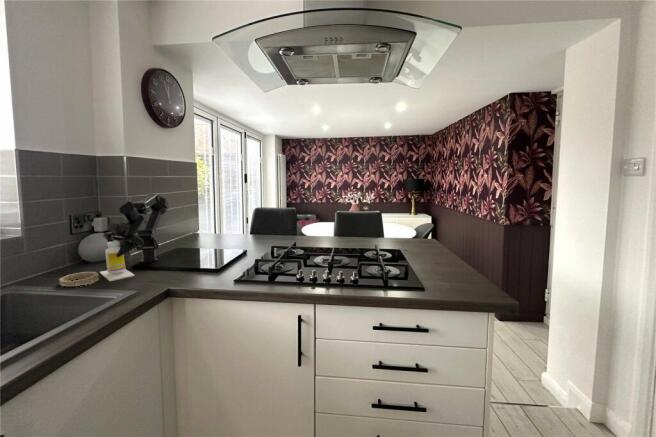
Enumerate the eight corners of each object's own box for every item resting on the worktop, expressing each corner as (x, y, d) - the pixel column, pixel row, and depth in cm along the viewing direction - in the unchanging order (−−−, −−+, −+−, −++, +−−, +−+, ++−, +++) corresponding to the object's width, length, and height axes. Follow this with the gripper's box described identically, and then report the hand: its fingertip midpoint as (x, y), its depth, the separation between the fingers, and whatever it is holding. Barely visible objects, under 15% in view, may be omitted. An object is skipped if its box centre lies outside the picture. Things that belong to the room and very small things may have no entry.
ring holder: (58, 282, 131) (57, 276, 131) (94, 275, 140) (93, 269, 139) (63, 290, 123) (62, 283, 122) (101, 281, 131) (100, 276, 131)
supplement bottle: (128, 270, 141) (125, 241, 139) (112, 274, 136) (108, 244, 134) (120, 267, 145) (117, 239, 143) (104, 271, 140) (101, 242, 137)
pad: (100, 273, 143) (99, 271, 143) (123, 268, 149) (123, 267, 149) (109, 281, 132) (109, 280, 132) (134, 275, 138) (134, 274, 138)
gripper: (104, 214, 144) (81, 244, 135) (134, 216, 137) (112, 248, 129) (123, 228, 152) (102, 257, 144) (152, 231, 145) (132, 261, 137)
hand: (111, 256), depth 138 cm, fingers closed on supplement bottle, 7 cm apart
